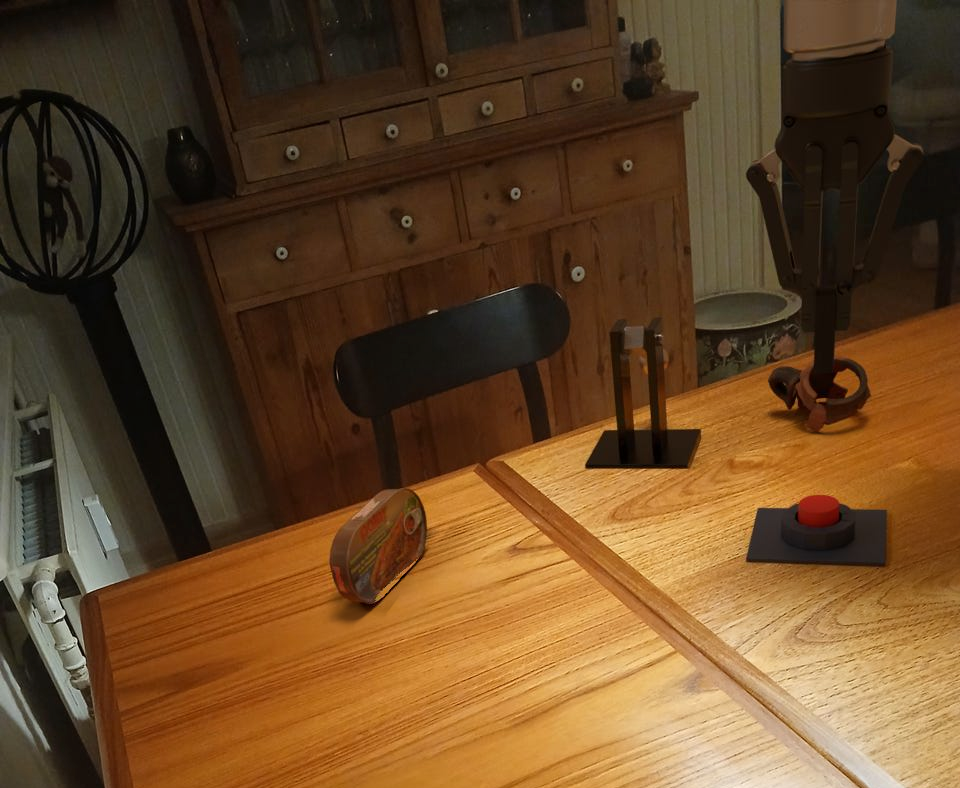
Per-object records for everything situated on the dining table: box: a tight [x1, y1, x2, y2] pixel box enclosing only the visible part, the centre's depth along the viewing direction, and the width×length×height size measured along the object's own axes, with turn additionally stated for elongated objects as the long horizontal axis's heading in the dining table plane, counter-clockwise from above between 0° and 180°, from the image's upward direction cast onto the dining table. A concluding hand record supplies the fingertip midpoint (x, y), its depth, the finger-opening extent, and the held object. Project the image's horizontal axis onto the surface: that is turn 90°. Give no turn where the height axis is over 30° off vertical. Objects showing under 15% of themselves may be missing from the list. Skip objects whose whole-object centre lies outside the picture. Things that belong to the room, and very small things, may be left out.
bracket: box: [584, 316, 702, 470], centre depth 114 cm, size 10×12×16 cm
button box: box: [745, 502, 888, 568], centre depth 93 cm, size 12×10×4 cm
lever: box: [624, 325, 669, 376], centre depth 115 cm, size 13×4×4 cm
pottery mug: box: [767, 355, 872, 432], centre depth 118 cm, size 12×10×8 cm
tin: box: [329, 487, 428, 605], centre depth 100 cm, size 15×3×8 cm, turn 154°
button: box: [798, 494, 841, 527], centre depth 91 cm, size 4×4×2 cm
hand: (823, 367), depth 84 cm, fingers closed
